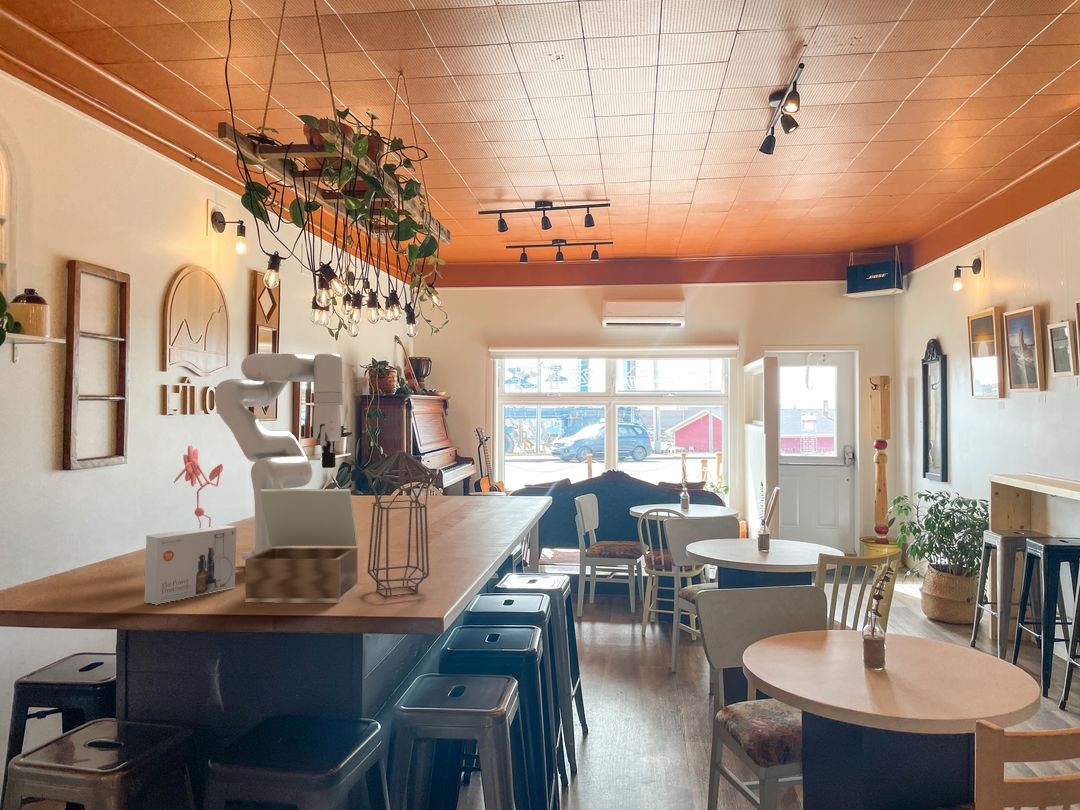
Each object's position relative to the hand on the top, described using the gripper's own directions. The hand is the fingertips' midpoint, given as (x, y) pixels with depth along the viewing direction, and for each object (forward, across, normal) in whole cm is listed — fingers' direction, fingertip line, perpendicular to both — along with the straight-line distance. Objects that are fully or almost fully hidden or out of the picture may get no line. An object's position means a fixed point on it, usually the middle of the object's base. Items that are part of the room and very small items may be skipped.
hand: (328, 467), depth 200 cm
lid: (+12, +15, 0) cm, 19 cm away
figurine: (+29, -23, -50) cm, 62 cm away
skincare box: (+30, +20, -28) cm, 45 cm away
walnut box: (+30, +19, 0) cm, 35 cm away
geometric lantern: (+30, +17, +22) cm, 41 cm away
